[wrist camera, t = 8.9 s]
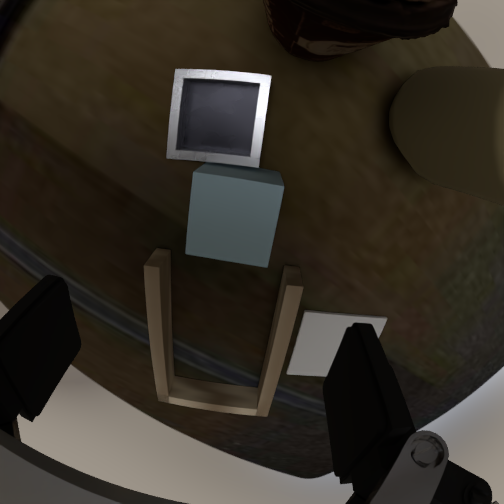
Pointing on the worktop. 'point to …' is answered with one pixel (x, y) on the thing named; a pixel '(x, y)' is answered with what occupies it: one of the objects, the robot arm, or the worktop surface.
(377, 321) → the mat
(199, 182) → the blue block
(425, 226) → the worktop surface
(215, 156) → the tray
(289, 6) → the coffee cup
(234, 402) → the cubby
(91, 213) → the worktop surface
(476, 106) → the squeeze bottle
